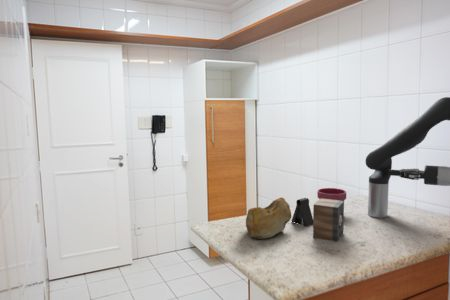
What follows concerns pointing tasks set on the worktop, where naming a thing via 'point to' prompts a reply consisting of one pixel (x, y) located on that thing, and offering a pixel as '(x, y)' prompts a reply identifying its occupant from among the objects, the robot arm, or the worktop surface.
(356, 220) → the worktop surface
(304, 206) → the phone stand
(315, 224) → the housing
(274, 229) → the rough brown rock
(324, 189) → the plant pot
